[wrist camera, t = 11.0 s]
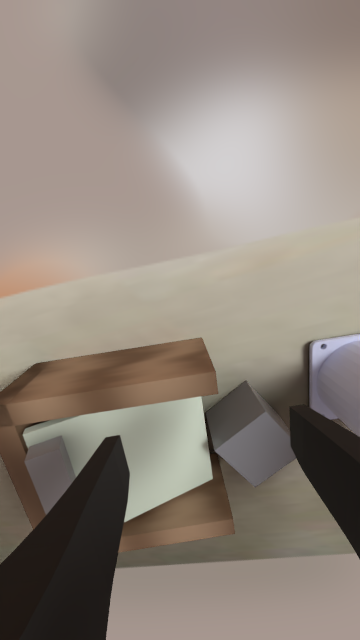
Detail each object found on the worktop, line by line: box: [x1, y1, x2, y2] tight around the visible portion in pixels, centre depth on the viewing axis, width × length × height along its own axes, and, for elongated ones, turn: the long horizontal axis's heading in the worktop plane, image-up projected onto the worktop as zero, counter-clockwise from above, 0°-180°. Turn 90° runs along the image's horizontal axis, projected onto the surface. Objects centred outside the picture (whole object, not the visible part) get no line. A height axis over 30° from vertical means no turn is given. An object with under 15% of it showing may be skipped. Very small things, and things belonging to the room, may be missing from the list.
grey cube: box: [206, 381, 296, 487], centre depth 20 cm, size 4×5×5 cm
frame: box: [0, 338, 235, 552], centre depth 19 cm, size 14×14×6 cm
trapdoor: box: [23, 396, 213, 522], centre depth 17 cm, size 12×10×2 cm
